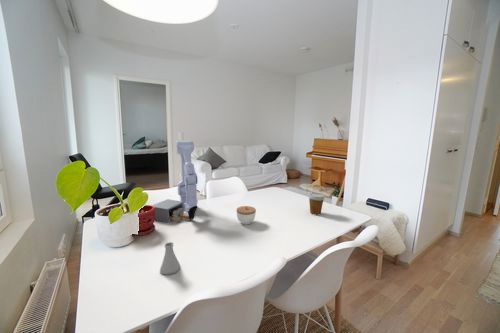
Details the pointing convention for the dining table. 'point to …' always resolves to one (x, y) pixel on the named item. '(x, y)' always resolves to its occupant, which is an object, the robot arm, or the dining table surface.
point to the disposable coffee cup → (316, 203)
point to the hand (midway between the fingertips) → (192, 218)
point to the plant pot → (146, 219)
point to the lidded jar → (246, 214)
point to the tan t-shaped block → (179, 215)
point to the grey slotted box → (166, 209)
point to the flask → (169, 261)
